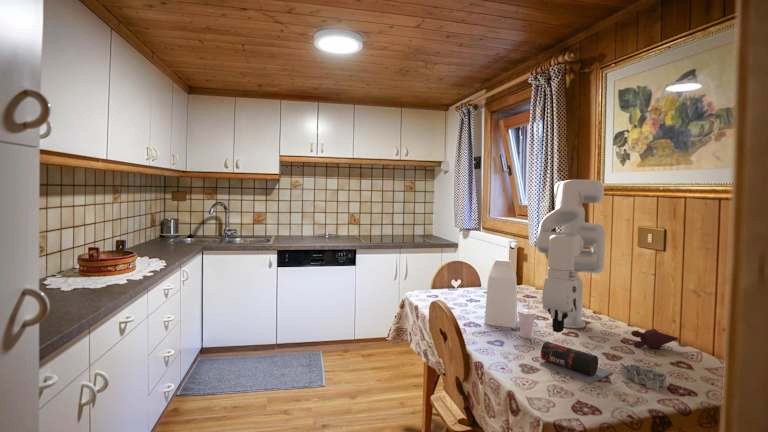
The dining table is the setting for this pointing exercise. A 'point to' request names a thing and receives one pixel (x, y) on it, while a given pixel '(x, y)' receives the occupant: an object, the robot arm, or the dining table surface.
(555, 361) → the deodorant
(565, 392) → the dining table surface
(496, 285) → the milk
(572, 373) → the felt mat
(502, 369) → the dining table surface
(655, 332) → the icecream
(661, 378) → the egg carton
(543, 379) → the dining table surface
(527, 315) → the smoothie
